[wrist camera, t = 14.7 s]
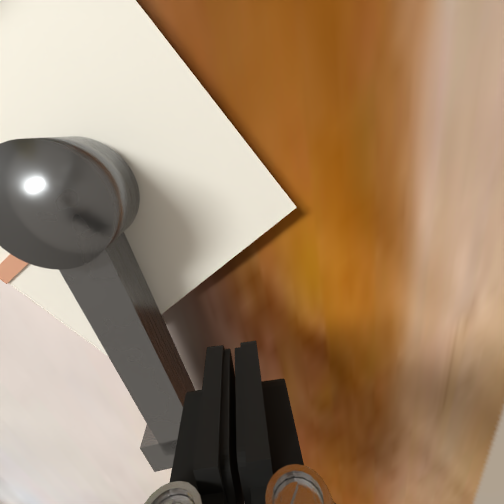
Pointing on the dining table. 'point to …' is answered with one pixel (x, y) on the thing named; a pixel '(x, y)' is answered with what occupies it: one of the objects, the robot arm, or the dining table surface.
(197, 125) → the crank board
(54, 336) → the dining table surface
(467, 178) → the dining table surface
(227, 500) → the robot arm
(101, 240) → the crank
